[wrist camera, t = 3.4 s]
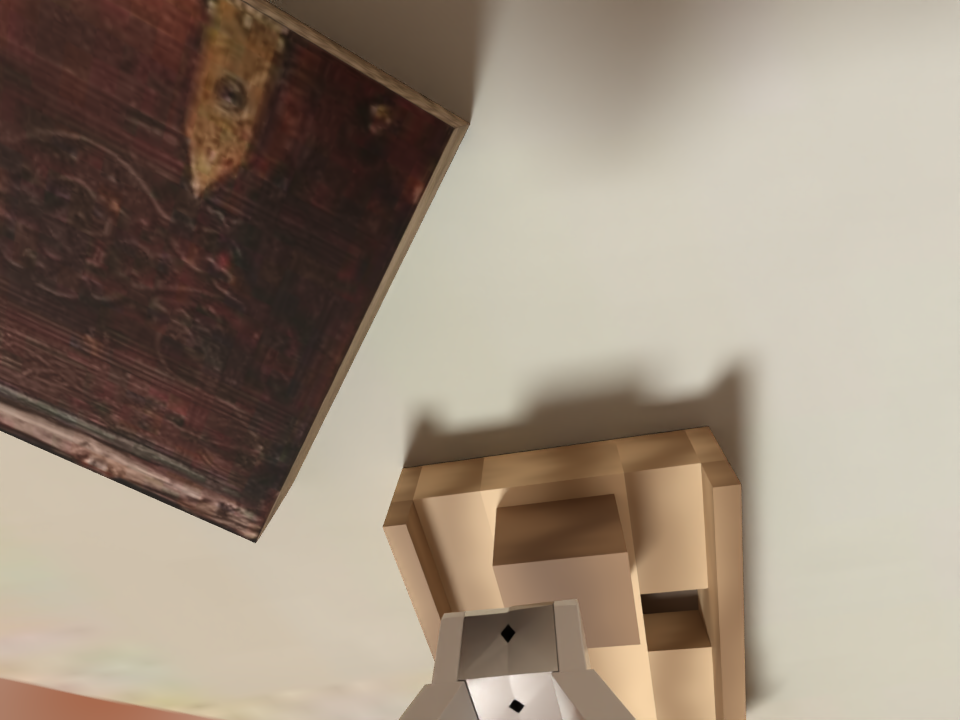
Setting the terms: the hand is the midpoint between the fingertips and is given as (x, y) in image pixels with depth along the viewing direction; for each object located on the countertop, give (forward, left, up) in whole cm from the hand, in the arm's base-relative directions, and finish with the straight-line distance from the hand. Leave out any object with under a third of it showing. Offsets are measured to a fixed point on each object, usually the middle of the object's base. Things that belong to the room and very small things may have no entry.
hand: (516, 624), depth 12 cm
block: (-1, +7, -10) cm, 12 cm away
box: (-1, +15, -12) cm, 19 cm away
